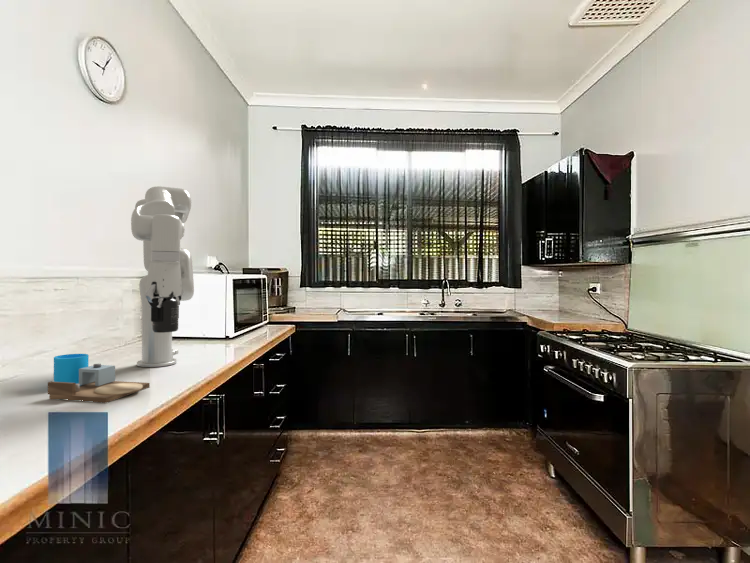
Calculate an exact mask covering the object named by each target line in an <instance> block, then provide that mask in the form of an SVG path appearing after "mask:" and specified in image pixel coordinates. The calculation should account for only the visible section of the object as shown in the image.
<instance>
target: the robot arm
mask: <svg viewBox="0 0 750 563" xmlns="http://www.w3.org/2000/svg"><path fill="white" fill-rule="evenodd" d="M191 208H192V197H191V195H190V193H189V191H188V190H186V189H184V188H178V187H169V186H168V187H167V186H161V185H160V186H152V187H150V188H148V189H147V190H146V191H145V194H144V199H140V200H137V201H136V203H135V206H134V209H133V211H132V213H131V218H130V229H131V233H132V237H133V238H135V240H138V241H142V242H143V243H142V245H143V246H142V248H143V250H142V251H143V253H142V254H143V266H144V269H145V271H146V272H147V274H146V275H144V276H142V277H141V278H140V280H139V287H138V289H139V293H140V294H139V295H140V302H141V324H142V325H141V359H140V360H138V361H136V366H137V367H143V368H157V367H168V366H172V365H175V364H177V362H178V361H177V358H174V357H173V356H175V355H178V354H179V349H176V348H175V349H173V332H165V333H157V332H153V330H152V322H162V321H163V308H160V307H161V305H162V302H163V299H164V298H168V297H170V296H169V295H170V294H171V292H172V291H173V292H174V296H173V297H174V298H175V299H176V300H177V301H178V319H179V318H180V315H179V314H180V308H179V307H180V305H181V302H182V301H183V302H185V301H186V302H187V301H191V299H192V298H193V297H194V292H195V284H194V269H193V260H192V259H193V258H192V254H191V252H190V251H189V250H188V249H186V248H184V247H183V248H182V247H181V240H182V238H183V237H184V236H185V225H184V224H185V223H186V222H187V221H188V218H189V214H190V213H191ZM157 295H159V296H157ZM157 300H158V302H157Z"/></svg>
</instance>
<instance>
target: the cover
mask: <svg viewBox="0 0 750 563" xmlns="http://www.w3.org/2000/svg"><path fill="white" fill-rule="evenodd" d="M94 381H95V386H100V385H103V384H107V383H110V382H113V381H116V365H114V364H113V365H112V364H111V365H109V364H108V365H107V364H101V363H94V364H93V365H90V366H89V365H88V367H85V368H81V369H79V384H80V385H84V384H87V383H91V382H94Z"/></svg>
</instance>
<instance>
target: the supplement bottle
mask: <svg viewBox="0 0 750 563" xmlns="http://www.w3.org/2000/svg"><path fill="white" fill-rule="evenodd" d="M157 296H159V295H157ZM169 296H170V297H168V298H164V299H163V302H162V305H161V307H160V308H163V321H162V322H152V330H153V332H157V333H165V332H172V333H173V332H177V331H178V330H179V318H178V306H179V305H178V301H177V300H176V299H175V298H174V297H173V296H174V292H173V291H172V292H171V294H170V295H169ZM157 302H158V300H157Z"/></svg>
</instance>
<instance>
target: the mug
mask: <svg viewBox="0 0 750 563" xmlns="http://www.w3.org/2000/svg"><path fill="white" fill-rule="evenodd" d="M85 367H89V354H87V353H67V354H60V355H55V356H54V357H53V382H70V383H76V384H79V369H81V368H85Z"/></svg>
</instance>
